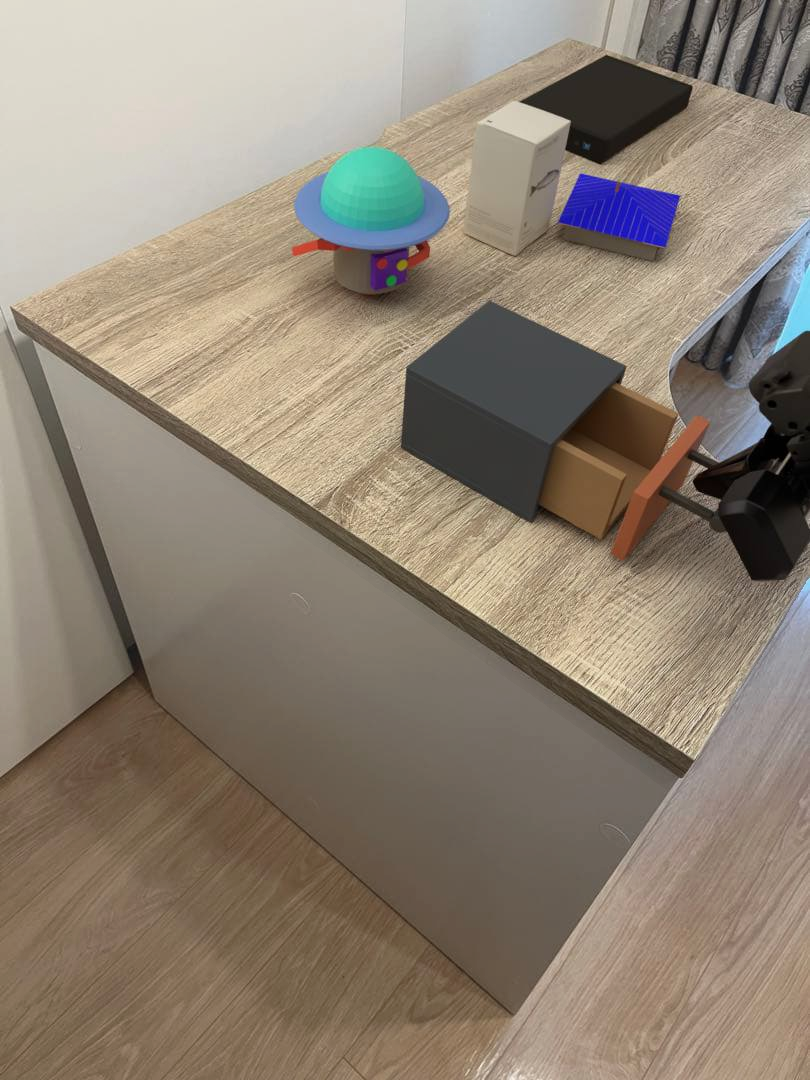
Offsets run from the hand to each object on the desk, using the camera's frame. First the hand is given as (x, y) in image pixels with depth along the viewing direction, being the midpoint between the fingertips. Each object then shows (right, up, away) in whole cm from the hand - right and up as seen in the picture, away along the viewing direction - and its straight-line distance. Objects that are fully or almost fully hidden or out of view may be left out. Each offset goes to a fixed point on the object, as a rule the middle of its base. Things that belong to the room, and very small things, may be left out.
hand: (696, 483), depth 65 cm
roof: (+3, +32, +35) cm, 48 cm away
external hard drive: (+5, +53, +53) cm, 76 cm away
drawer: (-4, -1, +6) cm, 8 cm away
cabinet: (-13, +4, +11) cm, 18 cm away
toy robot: (-25, +22, +25) cm, 42 cm away
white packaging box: (-10, +31, +33) cm, 46 cm away
